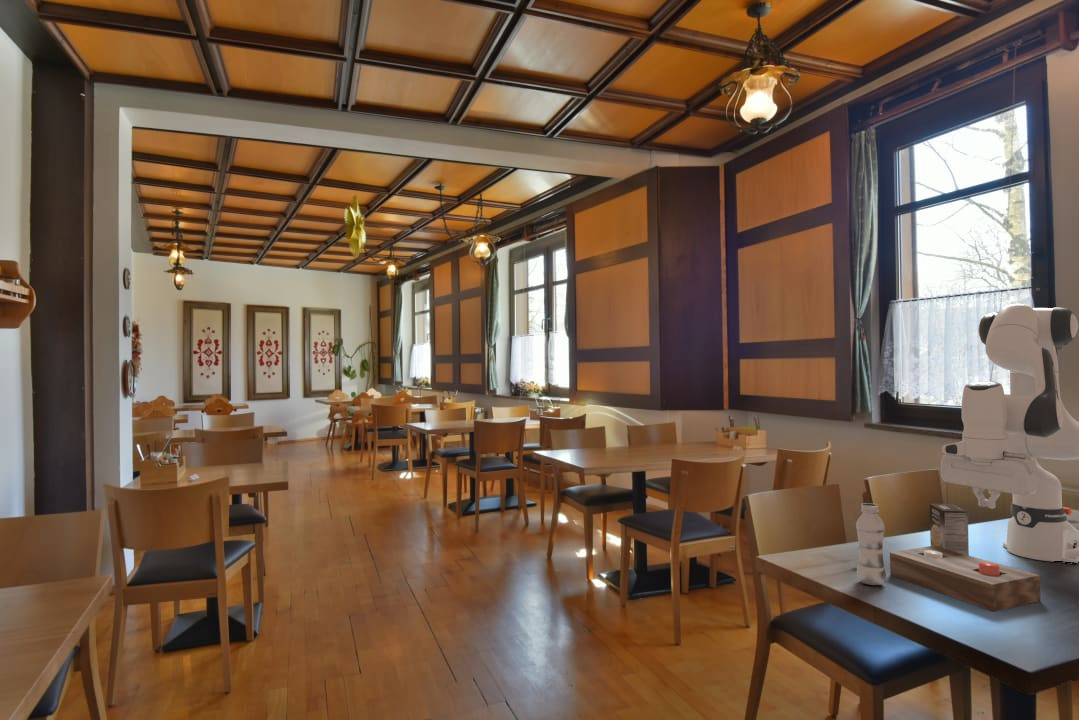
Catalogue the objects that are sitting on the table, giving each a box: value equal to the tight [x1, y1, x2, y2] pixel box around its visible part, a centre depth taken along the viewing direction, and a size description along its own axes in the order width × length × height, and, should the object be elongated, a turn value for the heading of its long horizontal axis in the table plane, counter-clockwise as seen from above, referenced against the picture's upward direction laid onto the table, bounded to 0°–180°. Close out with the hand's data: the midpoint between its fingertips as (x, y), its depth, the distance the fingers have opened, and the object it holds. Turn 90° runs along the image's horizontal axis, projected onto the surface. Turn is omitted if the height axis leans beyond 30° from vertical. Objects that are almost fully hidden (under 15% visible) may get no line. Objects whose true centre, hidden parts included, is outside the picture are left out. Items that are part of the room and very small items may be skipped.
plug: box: [924, 550, 942, 559], centre depth 156 cm, size 4×4×6 cm
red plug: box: [979, 561, 1000, 576], centre depth 143 cm, size 4×4×6 cm
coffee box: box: [929, 503, 970, 556], centre depth 167 cm, size 9×6×16 cm
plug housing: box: [889, 545, 1041, 612], centre depth 150 cm, size 16×26×6 cm, turn 20°
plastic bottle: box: [855, 502, 887, 586], centre depth 153 cm, size 6×7×20 cm
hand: (987, 507), depth 144 cm, fingers closed
